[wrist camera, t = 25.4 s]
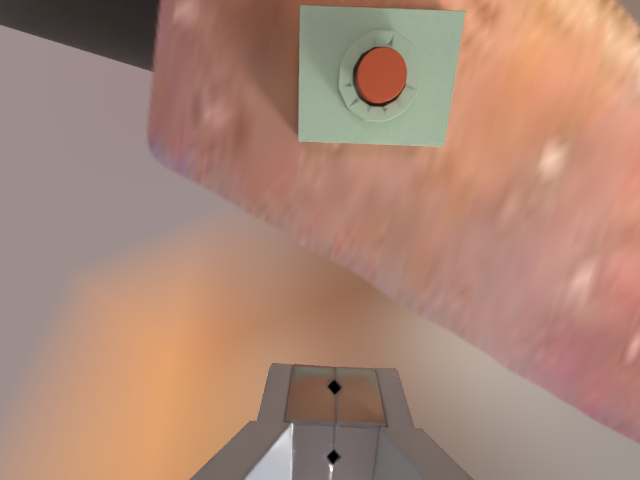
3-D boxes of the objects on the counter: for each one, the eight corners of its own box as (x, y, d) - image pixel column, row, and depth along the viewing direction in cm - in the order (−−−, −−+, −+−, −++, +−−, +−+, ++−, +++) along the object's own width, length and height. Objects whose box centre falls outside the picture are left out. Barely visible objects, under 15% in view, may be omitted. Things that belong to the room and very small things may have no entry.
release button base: (300, 139, 34) (296, 142, 29) (302, 17, 30) (297, -4, 25) (433, 144, 34) (451, 147, 29) (451, 22, 30) (475, 2, 25)
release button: (353, 102, 28) (355, 101, 27) (357, 50, 27) (359, 45, 25) (399, 104, 28) (403, 102, 27) (405, 52, 27) (410, 47, 25)
